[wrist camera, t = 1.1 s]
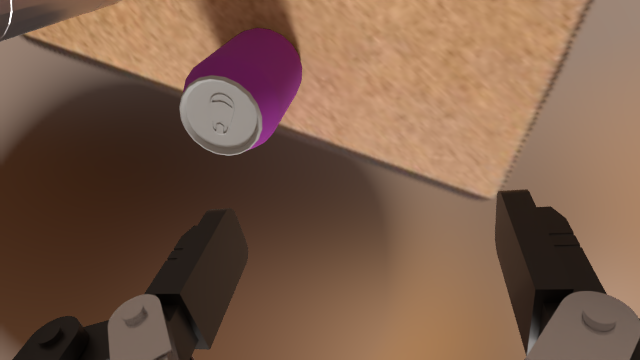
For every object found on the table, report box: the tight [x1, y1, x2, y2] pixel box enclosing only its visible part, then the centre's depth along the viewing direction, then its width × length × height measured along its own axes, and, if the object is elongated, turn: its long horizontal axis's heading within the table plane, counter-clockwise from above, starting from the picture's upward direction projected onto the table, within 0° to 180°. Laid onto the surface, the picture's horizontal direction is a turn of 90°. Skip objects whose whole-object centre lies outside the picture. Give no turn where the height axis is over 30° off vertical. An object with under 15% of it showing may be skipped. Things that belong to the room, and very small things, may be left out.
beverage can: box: [179, 28, 302, 155], centre depth 35 cm, size 8×8×12 cm
